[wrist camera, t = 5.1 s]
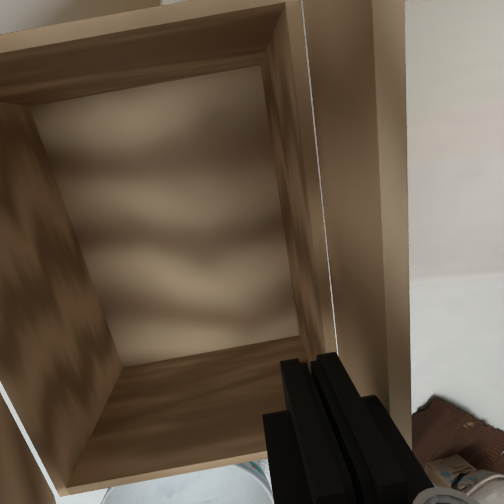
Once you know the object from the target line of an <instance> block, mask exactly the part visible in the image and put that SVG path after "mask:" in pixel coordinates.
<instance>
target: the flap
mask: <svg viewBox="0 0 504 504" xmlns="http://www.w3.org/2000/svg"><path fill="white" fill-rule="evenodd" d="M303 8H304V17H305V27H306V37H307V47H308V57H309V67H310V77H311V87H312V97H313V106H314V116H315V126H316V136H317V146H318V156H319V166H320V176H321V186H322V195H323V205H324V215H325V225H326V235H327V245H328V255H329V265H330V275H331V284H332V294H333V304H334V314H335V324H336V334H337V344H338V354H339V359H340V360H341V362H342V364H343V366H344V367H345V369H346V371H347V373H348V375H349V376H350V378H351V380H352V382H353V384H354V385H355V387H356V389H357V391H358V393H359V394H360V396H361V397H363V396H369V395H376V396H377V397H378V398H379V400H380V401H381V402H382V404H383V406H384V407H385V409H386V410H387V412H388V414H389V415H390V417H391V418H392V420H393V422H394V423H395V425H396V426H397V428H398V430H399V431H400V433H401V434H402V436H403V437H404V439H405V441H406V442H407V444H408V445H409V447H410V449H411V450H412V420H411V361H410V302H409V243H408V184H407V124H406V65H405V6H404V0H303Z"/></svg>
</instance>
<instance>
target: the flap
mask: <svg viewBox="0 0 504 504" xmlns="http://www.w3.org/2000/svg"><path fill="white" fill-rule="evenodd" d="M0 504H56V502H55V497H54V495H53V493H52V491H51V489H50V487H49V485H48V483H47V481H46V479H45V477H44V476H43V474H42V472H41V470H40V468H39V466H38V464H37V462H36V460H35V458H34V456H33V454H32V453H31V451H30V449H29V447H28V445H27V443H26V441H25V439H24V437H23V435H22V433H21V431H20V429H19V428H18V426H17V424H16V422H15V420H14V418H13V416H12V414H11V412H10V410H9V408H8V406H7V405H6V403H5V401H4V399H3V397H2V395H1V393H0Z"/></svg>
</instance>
